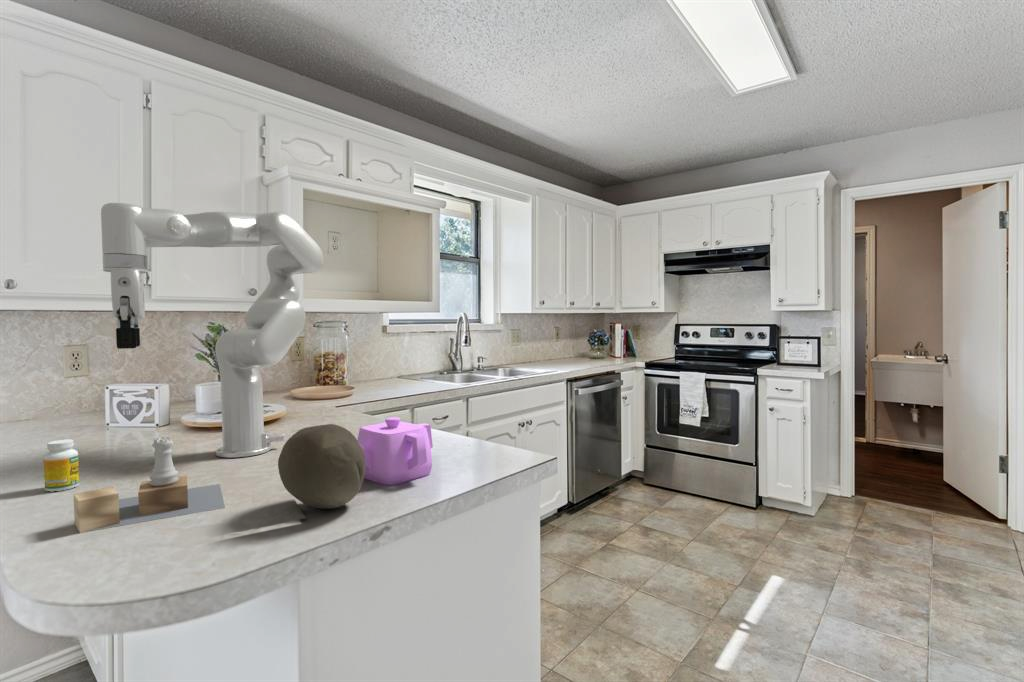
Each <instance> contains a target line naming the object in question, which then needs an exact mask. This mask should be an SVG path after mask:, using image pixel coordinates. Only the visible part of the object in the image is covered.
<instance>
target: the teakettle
mask: <svg viewBox="0 0 1024 682" xmlns="http://www.w3.org/2000/svg"><path fill="white" fill-rule="evenodd" d="M384 421H385V422H381V423H376V424H370V425H364V426H361V427H360V428H359V429H358V430H359V431H358V435H357V441H358V443H359V445H360V447H361V448H362V451H363V453H364V456H365V465H366V467H365V473H364V479H366V480H368V481H370V482H374V483H377V484H381V485H387V486H395V485H398V484H402V483H405V482H409V481H413V480H416V479H419V478H424V477H426V476H429V475H430V474H431V471H432V467H433V459H432V458H433V457H432V448H434V447H433V438H432V437H433V436H432V426H431V424H429V423H425V422H424V423H418V424H417V423H416V424H415V423H411V422H406V421H405V422H404V421H401V418H400V417H395V416H394V417H392V416H391V417H386V418H385V419H384Z"/></svg>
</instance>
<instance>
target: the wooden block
mask: <svg viewBox="0 0 1024 682" xmlns="http://www.w3.org/2000/svg"><path fill="white" fill-rule="evenodd" d="M177 477H178V478H179V479H178V481H177V482H176V483H174V484H171V485H167V486H160V487H154V486H151V485H150V484H149V482H150V481H151V480H145V481H141V482H140V484H139V489H138V491H137V492H138V494H137V496H138V499H139V516H143V515H149V514H155V513H160V512H166V511H172V510H178V509H184V508H188V489H189V488H188V475H182V476H177Z"/></svg>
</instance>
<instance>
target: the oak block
mask: <svg viewBox="0 0 1024 682" xmlns="http://www.w3.org/2000/svg"><path fill="white" fill-rule="evenodd" d="M119 495H120V493H119V492H118V491H117V490H116V489H115V488H114V487H113V486H109V487H103V488H97V489H93V490H88V491H83V492H78V493H73V514H74V516H73V517H74V526H75V527H76V529H77V531H78V533H79V532H80V533H79V534H83V533H82V532H84V533H87V532H86V531H90V530H95V529H99V528H103V527H107V526H112V525H116V524H120V518H119V499H120V498H119ZM95 531H96V530H95ZM90 532H91V531H90Z"/></svg>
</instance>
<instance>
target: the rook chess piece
mask: <svg viewBox="0 0 1024 682" xmlns="http://www.w3.org/2000/svg"><path fill="white" fill-rule="evenodd" d="M174 443H175V442H174V441H173V440H172V437H170V436H168V437H167V436H164V437H161V438H160V437H158V438H154V439H153V443H152V444H151V447H152V448H154V452H153V455H154V466H153V469H152V470H151V471H152V472H151V474H150V475H149V477H148V478H149V481H150V482H149V484H150V485H151V486H154V487H160V486H167V485H171V484H174V483H176V482H177V481H178V479H179V478H178V477H179V476H178V475H179V471H177V470H176V467H175V466H174V463H173V459H172V453H173V450H172V446H173V445H174Z"/></svg>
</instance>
